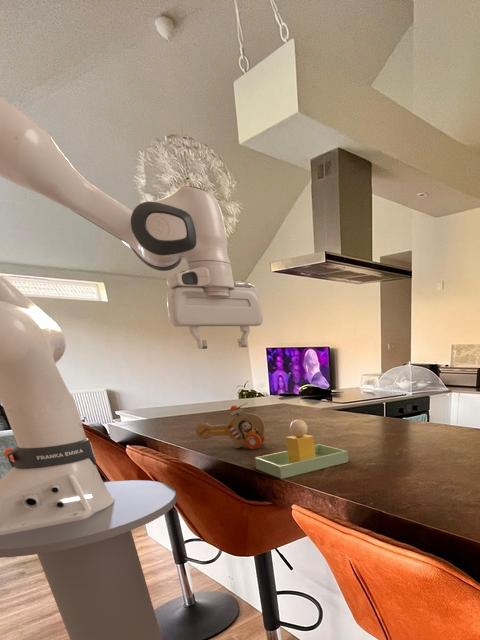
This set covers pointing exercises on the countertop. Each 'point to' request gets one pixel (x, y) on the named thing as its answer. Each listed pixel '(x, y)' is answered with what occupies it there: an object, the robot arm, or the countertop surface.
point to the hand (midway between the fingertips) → (223, 348)
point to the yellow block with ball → (300, 443)
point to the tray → (300, 462)
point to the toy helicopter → (237, 429)
